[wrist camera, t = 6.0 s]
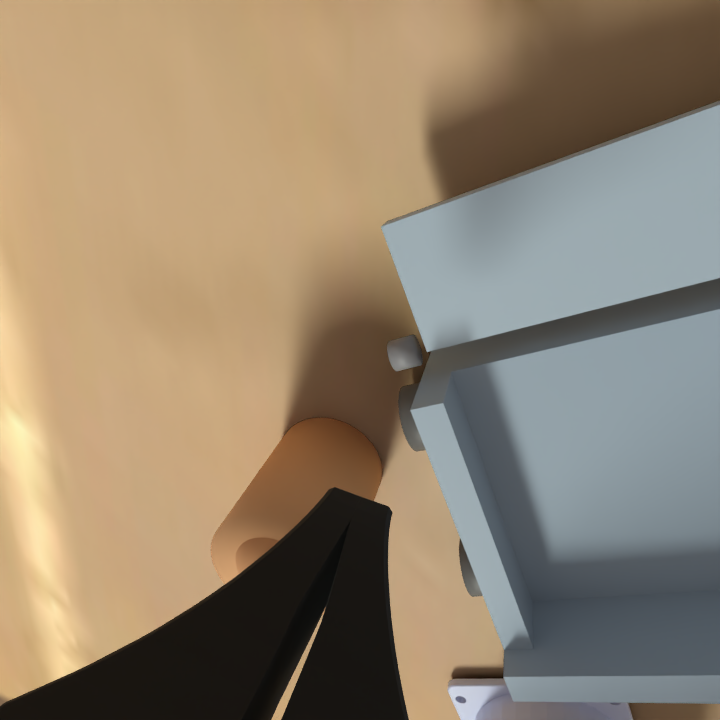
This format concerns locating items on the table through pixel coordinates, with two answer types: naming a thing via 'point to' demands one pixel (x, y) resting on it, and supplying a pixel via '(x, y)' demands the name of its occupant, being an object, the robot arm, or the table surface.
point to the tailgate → (567, 234)
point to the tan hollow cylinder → (294, 489)
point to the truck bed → (586, 493)
